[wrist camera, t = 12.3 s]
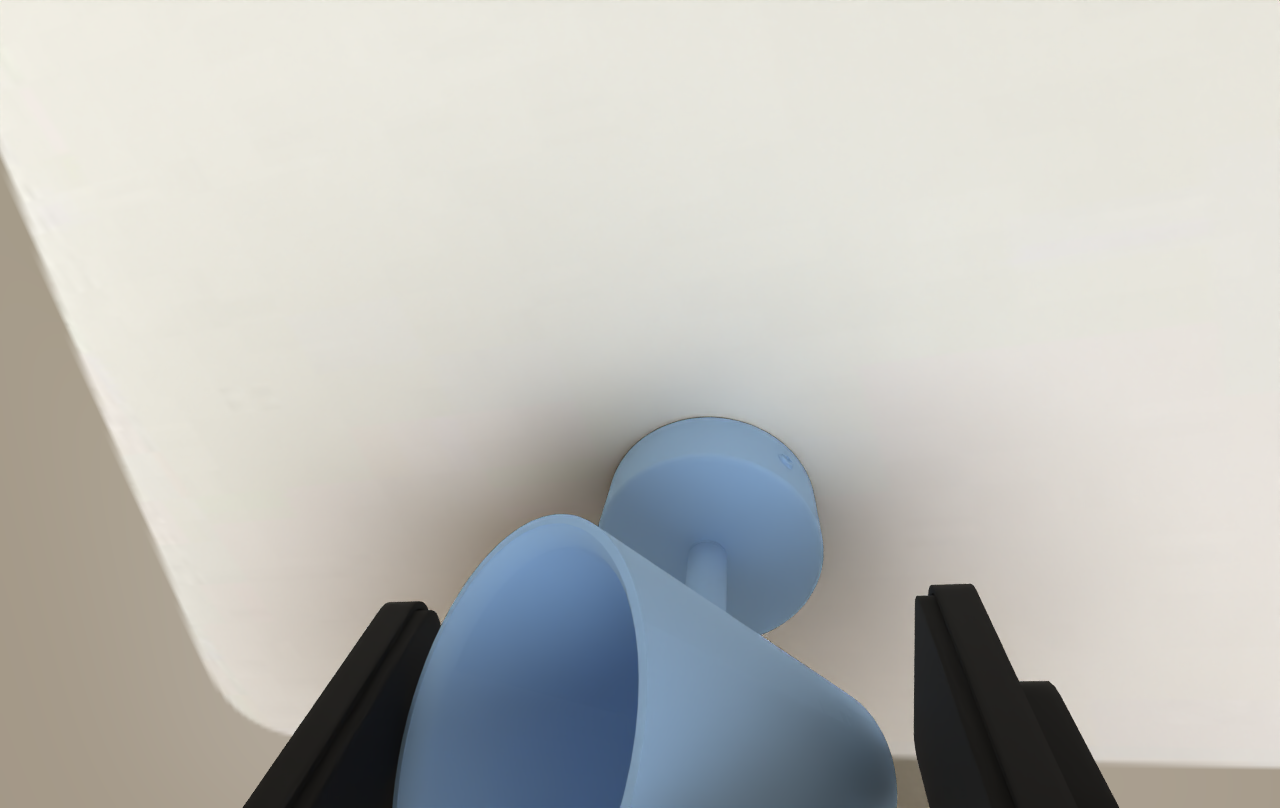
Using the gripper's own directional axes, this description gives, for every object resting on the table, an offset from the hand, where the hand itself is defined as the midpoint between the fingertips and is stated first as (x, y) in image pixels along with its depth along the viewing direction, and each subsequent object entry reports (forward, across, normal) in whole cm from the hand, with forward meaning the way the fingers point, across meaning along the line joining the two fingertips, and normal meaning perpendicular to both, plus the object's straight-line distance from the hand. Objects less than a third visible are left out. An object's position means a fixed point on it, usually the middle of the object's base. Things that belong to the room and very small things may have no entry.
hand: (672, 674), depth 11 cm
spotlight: (+5, 0, 0) cm, 5 cm away
